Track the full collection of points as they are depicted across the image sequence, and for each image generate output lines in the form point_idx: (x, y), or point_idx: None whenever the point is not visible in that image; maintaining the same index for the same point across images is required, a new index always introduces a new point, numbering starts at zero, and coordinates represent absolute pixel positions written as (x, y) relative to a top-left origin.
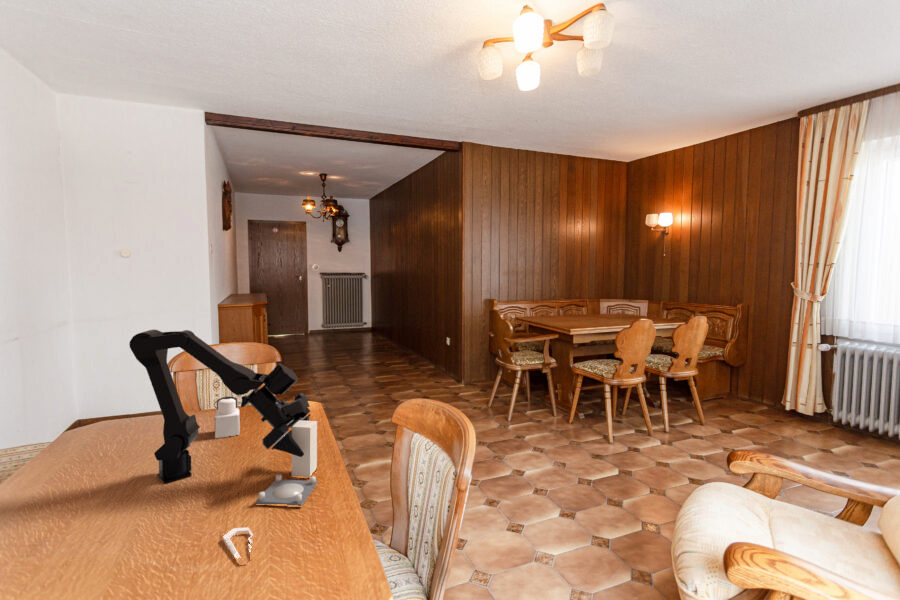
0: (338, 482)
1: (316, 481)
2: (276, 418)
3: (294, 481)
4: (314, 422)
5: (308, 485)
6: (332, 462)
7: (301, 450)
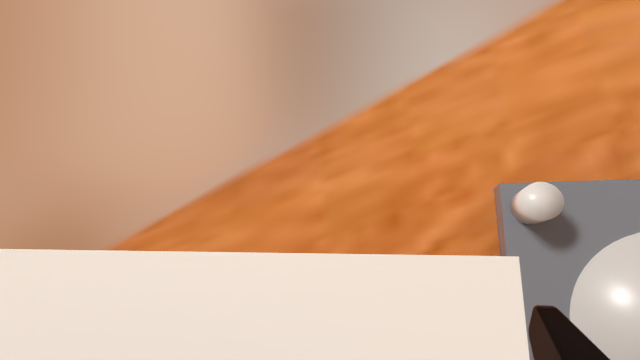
0: (438, 95)
1: (503, 192)
2: None
3: None
4: (54, 288)
5: (570, 222)
6: (217, 209)
7: (569, 345)
